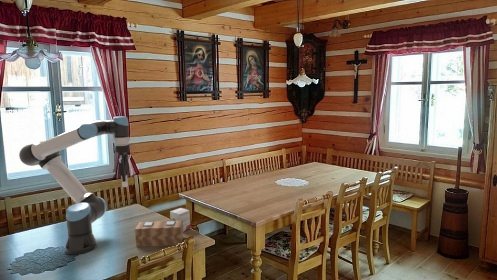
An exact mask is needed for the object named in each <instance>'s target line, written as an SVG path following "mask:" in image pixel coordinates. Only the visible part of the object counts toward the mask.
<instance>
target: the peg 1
mask: <svg viewBox="0 0 497 280" xmlns="http://www.w3.org/2000/svg"><path fill="white" fill-rule="evenodd" d="M145 222H146V223H145V224H144V227H152V226H153V221H145Z"/></svg>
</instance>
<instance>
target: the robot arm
mask: <svg viewBox="0 0 497 280" xmlns="http://www.w3.org/2000/svg"><path fill="white" fill-rule="evenodd" d="M129 125H130V124H129V119H128V117H127V116H118V115H117V116H114V117H113V119H112V120H107V119H106V120H104V119H103V120H101V119H98V120H93V121H92V122H85V123H82V124H80V126H77V127H75V128H72V129H70V130H68V131H65V132H63V133H61V134H59V135H55V136H53V137H50V138H49V139H46V140H44V141H39V142H34V143H32V144H31V143H29V144H26V145H25V146H23V147H22V148H21V149H20V151H19V153H18V154H19V155H18V156H19V160H20V162H22V164H24V165H26V166H29V167H30V166H31V167H34V166H39V167H40V168H41V169H42V170H44V171H45V170H46V171H47V172H48V173H49V174H50V175H51V176H52V177H53V179H54V180H55V181H56V182H57V183H58V184H59V185H60V187H61V188H62V189H63V190H64V192H66V194H67V195H68V196H69V197H70V198H71V200H73V202H74V204H71V205H69V206H68V207H67V208H66V210H65V211H66V212H65V219H66V228H67V230H66V231H67V239H66V242H65V243H66V244H65V248H64V249H65V253H66V254H68V255H80V254H86V253H88V252H91V251H93V250H95V249H96V248H97V246H98V243H97V240H96V237H95V235H94V233H93V227H92V225H93V223H94V222H96V221H97V220H99V219H101V218H102V217H103V216H104V215H105V213H106V211H107V209H108V207H107V202H106V201H105V199H104V198H102V197H100V196H96V195H95V193H93V192H89V191H88V190H87V189H86V188H85V186H84V185H83V184H82V183H81V182H80V181H79V179H78V178H77V177H76V176H75V174H74V173H73V172H72V171H71V170H70V169H69V168H68V167H67V165H66V164H65V163H64V162H63V161H62V155H61V151H62V150H65V149H68V148H70V147H72V146H75V145H77V144H80V143H81V142H84V141H88V140H89V139H91V138H95V137H98V136H102V135H114V145H115V146H114V149H115V151H114V152H115V153H116V154H118V156H117V157H118V159H117V164H118V170H119V176H120V177H121V188H127V187H128V186H129V183H128V182H129V181H128V175H129V158H130V157H129V156H130V155H128V153H129V152H131V147H130V146H131V145H130V140H131V138H130V133H129ZM128 188H129V187H128Z"/></svg>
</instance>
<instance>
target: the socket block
mask: <svg viewBox="0 0 497 280" xmlns="http://www.w3.org/2000/svg"><path fill="white" fill-rule="evenodd" d="M146 222H147V221H139V222H138V224H137V225H136V226H135V229H134V231H135V232H134V233H135V246H136V247H137V248H138V247H158V246H159V247H161V246H160V245H164V246H177V245H176V244H178V243H181V242H183V240H184V231H183V220H179V221H175V226H166V224H167V222H172V221H171V220H158V221H157V220H156V221H152V222H153V226H152V227H144V224H145V223H146Z"/></svg>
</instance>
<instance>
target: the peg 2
mask: <svg viewBox="0 0 497 280" xmlns="http://www.w3.org/2000/svg"><path fill="white" fill-rule="evenodd" d="M166 226H175V221H172V222H167V224H166Z"/></svg>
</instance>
